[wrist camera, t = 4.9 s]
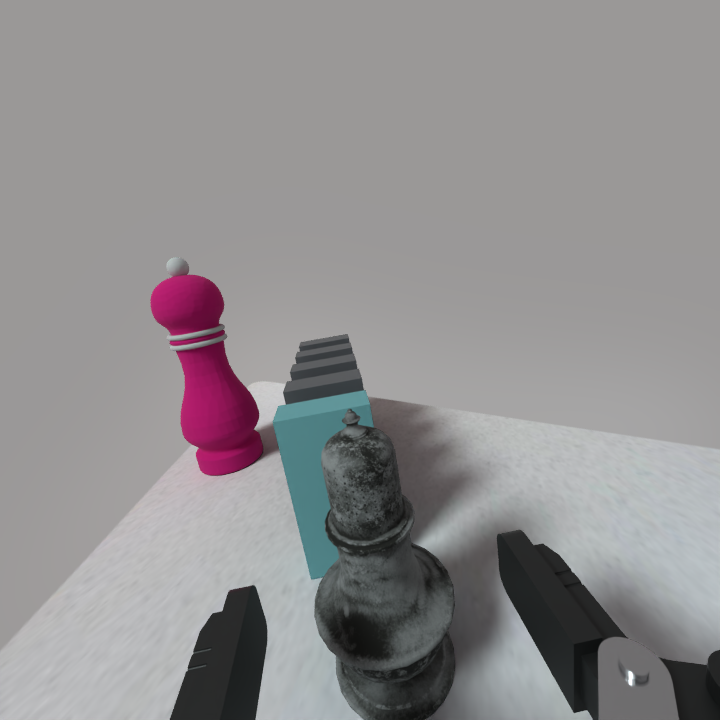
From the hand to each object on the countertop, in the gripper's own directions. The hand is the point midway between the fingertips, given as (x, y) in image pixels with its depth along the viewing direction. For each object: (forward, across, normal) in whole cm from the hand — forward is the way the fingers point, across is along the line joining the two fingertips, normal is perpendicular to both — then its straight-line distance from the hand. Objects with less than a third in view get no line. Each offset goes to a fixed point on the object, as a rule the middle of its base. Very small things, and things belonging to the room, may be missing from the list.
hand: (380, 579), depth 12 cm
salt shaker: (+3, 0, +7) cm, 8 cm away
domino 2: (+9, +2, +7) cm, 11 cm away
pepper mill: (+25, +13, +7) cm, 29 cm away
